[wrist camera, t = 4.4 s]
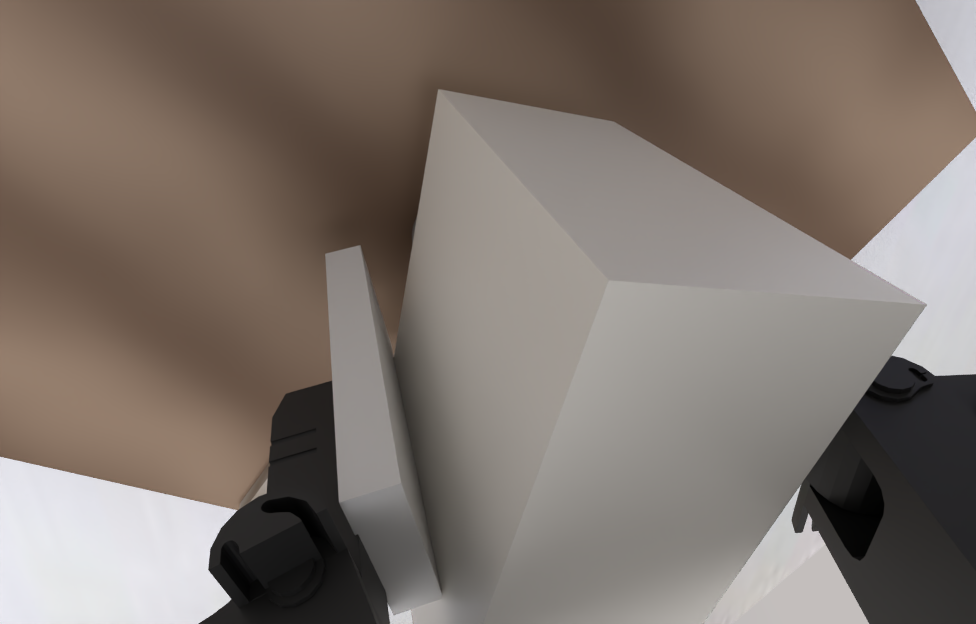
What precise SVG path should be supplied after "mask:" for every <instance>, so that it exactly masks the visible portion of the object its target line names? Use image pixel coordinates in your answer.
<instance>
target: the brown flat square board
mask: <svg viewBox="0 0 976 624" xmlns="http://www.w3.org/2000/svg"><path fill="white" fill-rule="evenodd" d="M438 89H441V90H447V91H452V92H457V93H463V94H468V95H473V96H479V97H484V98H490V99H495V100H500V101H506V102H511V103H517V104H522V105H527V106H533V107H538V108H544V109H549V110H554V111H560V112H565V113H570V114H576V115H581V116H587V117H592V118H597V119H603V120H608V121H614V122H615V123H617V124H619V125H621V126H622V127H624V128H626V129H627V130H629V131H631V132H633V133H634V134H636V135H638V136H639V137H641V138H643V139H645V140H646V141H648V142H650V143H651V144H653V145H655V146H656V147H658V148H660V149H662V150H663V151H665V152H667V153H668V154H670V155H672V156H674V157H675V158H677V159H679V160H680V161H682V162H684V163H686V164H687V165H689V166H691V167H692V168H694V169H696V170H698V171H699V172H701V173H703V174H704V175H706V176H708V177H710V178H711V179H713V180H715V181H716V182H718V183H720V184H721V185H723V186H725V187H727V188H728V189H730V190H732V191H733V192H735V193H737V194H739V195H740V196H742V197H744V198H745V199H747V200H749V201H751V202H752V203H754V204H756V205H757V206H759V207H761V208H763V209H764V210H766V211H768V212H769V213H771V214H773V215H774V216H776V217H778V218H780V219H781V220H783V221H785V222H786V223H788V224H790V225H792V226H793V227H795V228H797V229H798V230H800V231H802V232H804V233H805V234H807V235H809V236H810V237H812V238H814V239H816V240H817V241H819V242H821V243H822V244H824V245H826V246H828V247H829V248H831V249H833V250H834V251H836V252H838V253H839V254H841V255H843V256H845V257H846V258H848V259H850V260H851V259H852V258H853V257H854V256H855V255H856V254H857V253H858V252H859V251H860V250H861V249H862V248H863V247H864V246H865V245H866V244H867V243H868V242H869V241H870V240H871V239H872V238H873V237H874V236H876V235H877V234H878V233H879V232H880V231H881V230H882V229H883V228H884V227H885V226H886V225H887V224H888V223H889V222H890V221H891V220H892V219H893V218H894V217H895V216H896V215H897V214H898V213H899V212H900V211H901V210H902V209H903V208H904V207H905V206H906V205H907V204H908V203H909V202H910V201H911V200H912V199H913V198H914V197H915V196H916V195H917V194H918V193H919V192H920V191H921V190H922V189H923V188H924V187H926V186H927V185H928V184H929V183H930V182H931V181H932V180H933V179H934V178H935V177H936V176H937V175H938V174H939V173H940V172H941V171H942V170H943V169H944V168H945V167H946V166H947V165H948V164H949V163H950V162H951V161H952V160H953V159H954V158H955V157H956V156H957V155H958V154H959V153H960V152H961V151H962V150H963V149H964V148H965V147H966V146H967V145H968V144H969V143H970V142H971V141H972V140H973V139H974V138H975V137H976V111H975V109H974V108H973V106H972V104H971V102H970V100H969V98H968V97H967V95H966V93H965V91H964V89H963V87H962V85H961V84H960V82H959V80H958V78H957V76H956V74H955V73H954V71H953V69H952V67H951V65H950V63H949V62H948V60H947V58H946V56H945V54H944V52H943V51H942V49H941V47H940V45H939V43H938V41H937V39H936V38H935V36H934V34H933V32H932V30H931V28H930V27H929V25H928V23H927V21H926V19H925V17H924V16H923V14H922V12H921V10H920V8H919V6H918V5H917V3H916V1H915V0H0V457H4V458H9V459H13V460H18V461H22V462H27V463H31V464H36V465H40V466H44V467H49V468H53V469H58V470H62V471H67V472H71V473H75V474H80V475H84V476H89V477H93V478H98V479H102V480H107V481H111V482H115V483H120V484H124V485H129V486H133V487H138V488H142V489H146V490H151V491H155V492H160V493H164V494H169V495H173V496H177V497H182V498H186V499H191V500H195V501H200V502H204V503H209V504H213V505H217V506H222V507H226V508H231V509H235V510H239V509H240V508H242V507H243V506H245V505H246V504H248V503H249V502H251V501H252V500H254V499H255V498H257V497H258V496H261V495H264V494H267V480H268V467H269V466H270V463H269V453H270V446H271V442H270V440H271V427H272V417H273V415H274V413H275V412H276V410H277V408H278V406H279V405H280V403H281V401H282V399H283V398H284V396H285V394H286V393H290V392H293V391H297V390H300V389H304V388H307V387H311V386H314V385H318V384H322V383H325V382H329V381H332V367H331V349H330V331H329V313H328V295H327V277H326V259H325V254H327V253H330V252H334V251H338V250H342V249H346V248H350V247H354V246H358V245H360V246H361V249H362V252H363V255H364V259H365V262H366V265H367V268H368V271H369V275H370V278H371V281H372V284H373V287H374V290H375V294H376V297H377V300H378V303H379V306H380V310H381V313H382V316H383V319H384V322H385V326H386V329H387V332H388V335H389V338H390V342H391V346H392V351H393V355H394V353H395V347H396V341H397V334H398V328H399V322H400V316H401V310H402V304H403V298H404V292H405V286H406V280H407V274H408V268H409V262H410V256H411V250H412V244H413V242H412V229H413V224H414V222H415V219H416V217H417V214H418V208H419V202H420V196H421V190H422V184H423V178H424V172H425V166H426V160H427V154H428V148H429V141H430V135H431V129H432V123H433V117H434V111H435V105H436V99H437V93H438Z"/></svg>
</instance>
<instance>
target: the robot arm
mask: <svg viewBox="0 0 976 624" xmlns="http://www.w3.org/2000/svg"><path fill="white" fill-rule="evenodd" d="M325 259H326V277H327V295H328V313H329V331H330V349H331V367H332V381H329V382H325V383H322V384H318V385H314V386H311V387H307V388H304V389H300V390H297V391H293V392H290V393H286V394H285V396H284V398H283V399H282V401H281V403H280V405H279V406H278V408H277V410H276V412H275V413H274V415H273V417H272V427H271V440H270V442H271V446H270V453H269V463H270V466H269V467H268V480H267V494H264V495H261V496H258V497H257V498H255V499H254V500H252V501H251V502H249V503H248V504H246V505H245V506H243V507H242V508H240V509H239V510H238V511H237V512H236V513H235V514H234V515H233V516H232V517H231V518H230V519H229V520H228V521H227V522H226V524H225V525H224V526H223V527H222V528H221V530H220V532H219V533H218V535H217V537H216V539H215V541H214V543H213V545H212V547H211V549H210V559H209V569H208V570H209V571H210V573H211V574H212V575H213V576H214V578H215V579H216V580H217V581H218V583H219V584H220V585H221V586H222V588H223V589H224V590H225V591H226V593H227V594H228V595H229V596H230V598H231V600H230V601H229V603H227V604H226V605H225V606H223V607H222V608H221V609H219V610H218V611H217V612H215V613H214V614H213V615H211V616H210V617H208V618H207V619H205V620H204V621H202V622H200V623H199V624H390V621H389V613H388V605H387V602H388V604H389V606H390V609H391V611H392V613H393V615H396V614H399V613H402V612H405V611H408V610H410V609H413V608H416V607H419V606H422V605H425V604H428V603H431V602H434V601H437V600H440V599H441V597H442V591H441V586H440V581H439V576H438V571H437V567H436V562H435V557H434V552H433V547H432V542H431V537H430V532H429V528H428V523H427V518H426V513H425V508H424V503H423V498H422V493H421V489H420V484H419V479H418V474H417V469H416V464H415V459H414V455H413V450H412V445H411V440H410V435H409V430H408V425H407V420H406V416H405V411H404V406H403V401H402V396H401V391H400V386H399V381H398V377H397V372H396V367H395V362H394V355H393V351H392V346H391V342H390V338H389V335H388V332H387V329H386V326H385V322H384V319H383V316H382V313H381V310H380V306H379V303H378V300H377V297H376V294H375V290H374V287H373V284H372V281H371V278H370V275H369V271H368V268H367V265H366V262H365V259H364V255H363V252H362V249H361V246H360V245H358V246H354V247H350V248H346V249H342V250H338V251H334V252H330V253H327V254H325ZM808 513H809V515H810V517H811V518H812V531H819V533H820V535H821V537H822V538H823V540H824V542H825V544H826V546H827V547H828V549H829V551H830V553H831V555H832V557H833V558H834V560H835V562H836V564H837V565H838V567H839V569H840V571H841V573H842V575H843V576H844V578H845V580H846V582H847V584H848V586H849V587H850V589H851V591H852V593H853V595H854V596H855V598H856V600H857V602H858V604H859V606H860V607H861V609H862V611H863V613H864V615H865V616H866V618H867V620H868V622H869V624H976V374H974V375H950V376H934V375H933V374H931V373H930V372H929V371H927V370H926V369H925V368H923V367H922V366H919V365H917V364H915V363H913V362H910V361H908V360H906V359H903V358H900V357H895V356H891V357H890V358H889V359H888V361H887V362H886V364H885V365H884V367H883V368H882V369H881V371H880V372H879V374H878V375H877V377H876V378H875V379H874V381H873V382H872V384H871V385H870V387H869V388H868V389H867V391H866V392H865V394H864V395H863V397H862V398H861V399H860V401H859V402H858V404H857V405H856V407H855V408H854V409H853V411H852V412H851V414H850V415H849V417H848V418H847V419H846V421H845V422H844V424H843V425H842V427H841V428H840V429H839V431H838V432H837V434H836V435H835V437H834V438H833V439H832V441H831V442H830V444H829V445H828V446H827V448H826V449H825V451H824V452H823V454H822V455H821V456H820V458H819V459H818V461H817V462H816V464H815V465H814V466H813V468H812V469H811V471H810V472H809V474H808V475H807V476H806V478H805V479H804V481H803V482H802V484H801V487H800V491H799V494H798V498H797V501H796V505H795V508H794V512H793V516H792V523H793V527H794V531H795V533H801V532H803V529H804V525H805V522H806V519H807V516H808Z"/></svg>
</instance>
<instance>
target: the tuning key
mask: <svg viewBox="0 0 976 624" xmlns="http://www.w3.org/2000/svg"><path fill="white" fill-rule="evenodd" d="M412 242H413V244H412V250H411V256H410V262H409V268H408V274H407V280H406V286H405V292H404V298H403V304H402V310H401V316H400V322H399V328H398V334H397V341H396V347H395V353H394V362H395V367H396V372H397V377H398V381H399V386H400V391H401V396H402V401H403V406H404V411H405V416H406V420H407V425H408V430H409V435H410V440H411V445H412V450H413V455H414V459H415V464H416V469H417V474H418V479H419V484H420V489H421V493H422V498H423V503H424V508H425V513H426V518H427V523H428V528H429V532H430V537H431V542H432V547H433V552H434V557H435V562H436V567H437V571H438V576H439V581H440V586H441V591H442V597H441V599H440V600H437V601H434V602H431V603H428V604H425V605H422V606H419V607H416V608H413V609H411V614H412V620H413V624H703V623H704V622H705V621H706V619H707V618H708V616H709V615H710V613H711V612H712V611H713V609H714V608H715V606H716V605H717V603H718V602H719V601H720V599H721V598H722V596H723V595H724V593H725V592H726V591H727V589H728V588H729V586H730V585H731V584H732V582H733V581H734V579H735V578H736V576H737V575H738V574H739V572H740V571H741V569H742V568H743V566H744V565H745V564H746V562H747V561H748V559H749V558H750V556H751V555H752V554H753V552H754V551H755V549H756V548H757V546H758V545H759V544H760V542H761V541H762V539H763V538H764V536H765V535H766V534H767V532H768V531H769V529H770V528H771V526H772V525H773V524H774V522H775V521H776V519H777V518H778V516H779V515H780V514H781V512H782V511H783V509H784V508H785V506H786V505H787V504H788V502H789V501H790V499H791V498H792V496H793V495H794V494H795V492H796V491H797V489H798V488H799V486H800V485H801V484H802V482H803V481H804V479H805V478H806V476H807V475H808V474H809V472H810V471H811V469H812V468H813V466H814V465H815V464H816V462H817V461H818V459H819V458H820V456H821V455H822V454H823V452H824V451H825V449H826V448H827V446H828V445H829V444H830V442H831V441H832V439H833V438H834V437H835V435H836V434H837V432H838V431H839V429H840V428H841V427H842V425H843V424H844V422H845V421H846V419H847V418H848V417H849V415H850V414H851V412H852V411H853V409H854V408H855V407H856V405H857V404H858V402H859V401H860V399H861V398H862V397H863V395H864V394H865V392H866V391H867V389H868V388H869V387H870V385H871V384H872V382H873V381H874V379H875V378H876V377H877V375H878V374H879V372H880V371H881V369H882V368H883V367H884V365H885V364H886V362H887V361H888V359H889V358H890V357H891V355H892V354H893V352H894V351H895V349H896V348H897V347H898V345H899V344H900V342H901V341H902V339H903V338H904V337H905V335H906V334H907V332H908V331H909V329H910V328H911V327H912V325H913V324H914V322H915V321H916V319H917V318H918V317H919V315H920V314H921V312H922V311H923V309H924V308H925V307H926V305H927V304H925V303H923V302H922V301H920V300H918V299H916V298H915V297H913V296H911V295H910V294H908V293H906V292H904V291H903V290H901V289H899V288H898V287H896V286H894V285H892V284H891V283H889V282H887V281H886V280H884V279H882V278H881V277H879V276H877V275H875V274H874V273H872V272H870V271H869V270H867V269H865V268H863V267H862V266H860V265H858V264H857V263H855V262H853V261H851V260H850V259H848V258H846V257H845V256H843V255H841V254H839V253H838V252H836V251H834V250H833V249H831V248H829V247H828V246H826V245H824V244H822V243H821V242H819V241H817V240H816V239H814V238H812V237H810V236H809V235H807V234H805V233H804V232H802V231H800V230H798V229H797V228H795V227H793V226H792V225H790V224H788V223H786V222H785V221H783V220H781V219H780V218H778V217H776V216H774V215H773V214H771V213H769V212H768V211H766V210H764V209H763V208H761V207H759V206H757V205H756V204H754V203H752V202H751V201H749V200H747V199H745V198H744V197H742V196H740V195H739V194H737V193H735V192H733V191H732V190H730V189H728V188H727V187H725V186H723V185H721V184H720V183H718V182H716V181H715V180H713V179H711V178H710V177H708V176H706V175H704V174H703V173H701V172H699V171H698V170H696V169H694V168H692V167H691V166H689V165H687V164H686V163H684V162H682V161H680V160H679V159H677V158H675V157H674V156H672V155H670V154H668V153H667V152H665V151H663V150H662V149H660V148H658V147H656V146H655V145H653V144H651V143H650V142H648V141H646V140H645V139H643V138H641V137H639V136H638V135H636V134H634V133H633V132H631V131H629V130H627V129H626V128H624V127H622V126H621V125H619V124H617V123H615V122H614V121H608V120H603V119H597V118H592V117H587V116H581V115H576V114H570V113H565V112H560V111H554V110H549V109H544V108H538V107H533V106H527V105H522V104H517V103H511V102H506V101H500V100H495V99H490V98H484V97H479V96H473V95H468V94H463V93H457V92H452V91H447V90H441V89H438V93H437V99H436V105H435V111H434V117H433V123H432V129H431V135H430V141H429V148H428V154H427V160H426V166H425V172H424V178H423V184H422V190H421V196H420V202H419V208H418V214H417V217H416V219H415V222H414V224H413V229H412Z"/></svg>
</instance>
